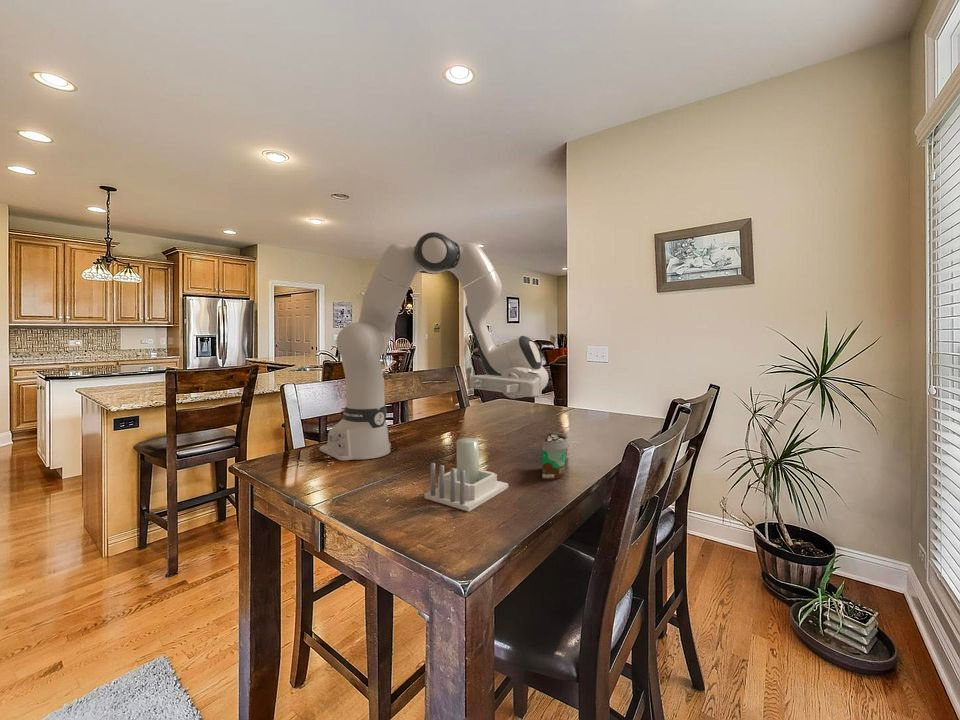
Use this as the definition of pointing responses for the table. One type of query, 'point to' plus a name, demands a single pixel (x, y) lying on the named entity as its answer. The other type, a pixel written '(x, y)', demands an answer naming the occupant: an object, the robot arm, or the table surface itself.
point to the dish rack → (463, 488)
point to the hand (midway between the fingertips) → (489, 387)
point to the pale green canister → (468, 459)
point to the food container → (554, 456)
